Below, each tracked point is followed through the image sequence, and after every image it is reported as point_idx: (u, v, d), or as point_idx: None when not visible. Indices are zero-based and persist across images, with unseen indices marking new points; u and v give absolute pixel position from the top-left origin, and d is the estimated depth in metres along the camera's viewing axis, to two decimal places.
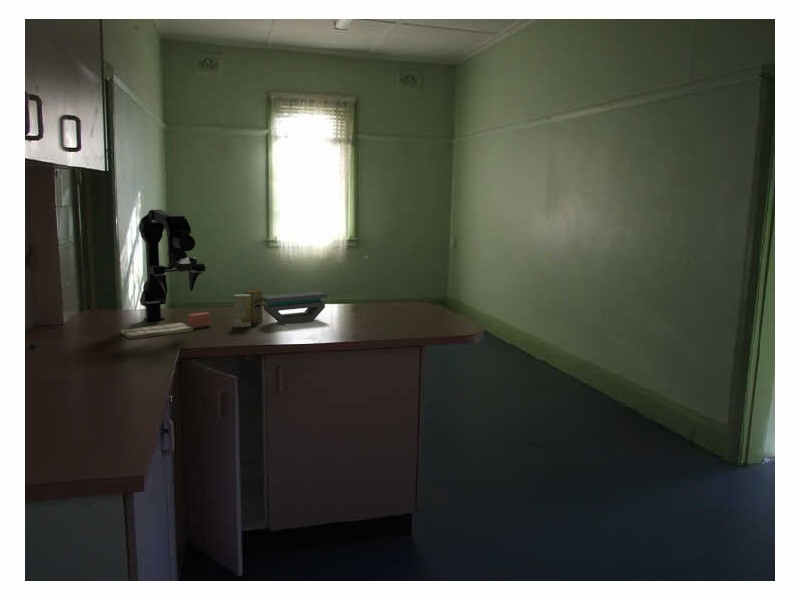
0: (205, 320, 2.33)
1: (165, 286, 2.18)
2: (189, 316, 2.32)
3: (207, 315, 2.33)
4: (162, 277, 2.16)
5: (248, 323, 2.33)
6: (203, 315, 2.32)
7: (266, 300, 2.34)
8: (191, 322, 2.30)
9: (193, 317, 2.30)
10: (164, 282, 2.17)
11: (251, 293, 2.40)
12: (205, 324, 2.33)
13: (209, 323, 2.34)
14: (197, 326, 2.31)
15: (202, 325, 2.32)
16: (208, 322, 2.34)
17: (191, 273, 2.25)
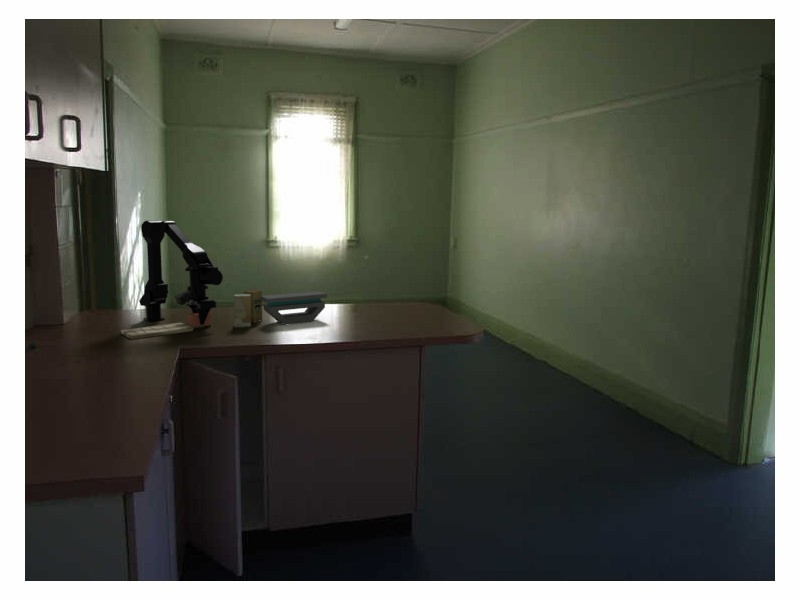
0: None
1: None
2: (189, 316, 2.32)
3: (207, 315, 2.33)
4: None
5: (248, 323, 2.33)
6: None
7: (266, 300, 2.34)
8: (191, 322, 2.30)
9: (193, 317, 2.30)
10: (193, 312, 2.34)
11: (251, 293, 2.40)
12: (205, 324, 2.33)
13: (209, 323, 2.34)
14: (197, 326, 2.31)
15: None
16: (208, 322, 2.34)
17: None
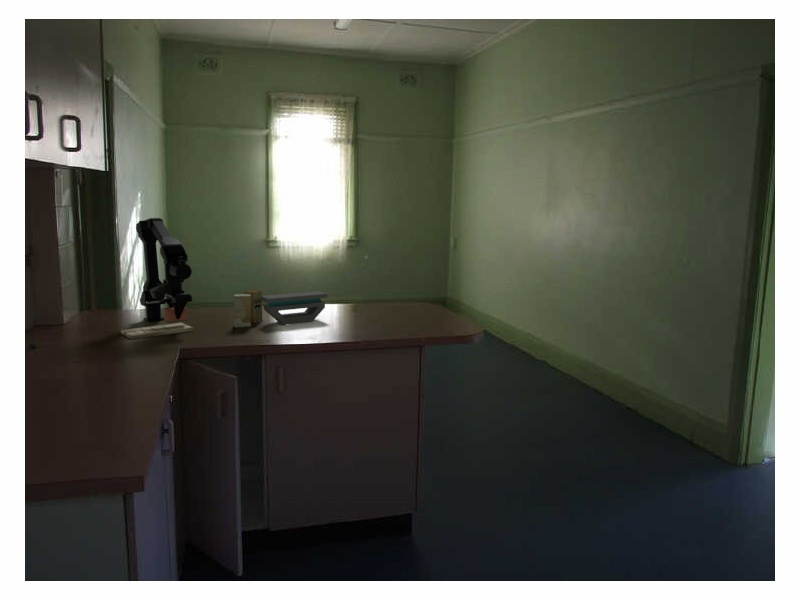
0: None
1: None
2: (165, 310, 2.25)
3: None
4: (164, 301, 2.28)
5: (248, 323, 2.33)
6: None
7: (266, 300, 2.34)
8: (167, 316, 2.24)
9: (169, 311, 2.23)
10: (169, 306, 2.28)
11: (251, 293, 2.40)
12: (181, 318, 2.27)
13: (185, 317, 2.28)
14: (173, 320, 2.25)
15: (178, 319, 2.26)
16: (185, 316, 2.28)
17: None
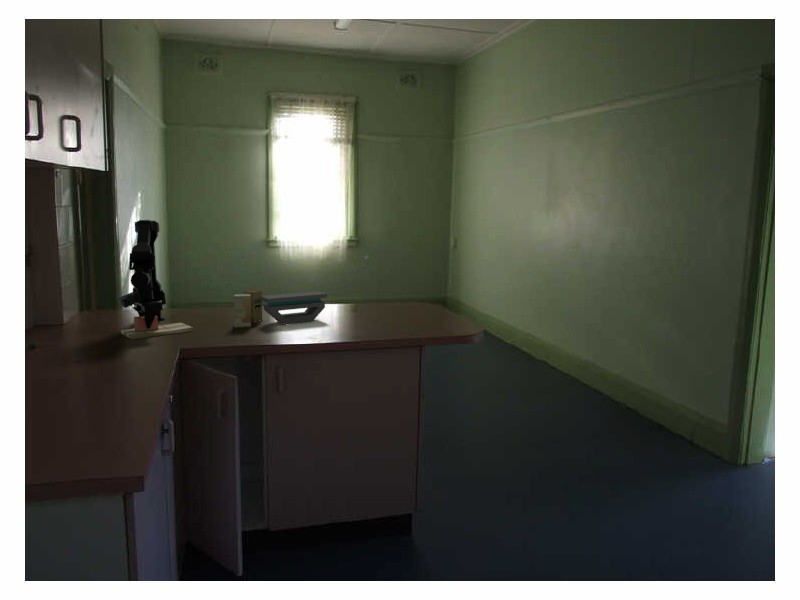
0: (152, 323, 2.20)
1: None
2: (135, 319, 2.18)
3: (154, 318, 2.20)
4: (134, 309, 2.21)
5: (248, 323, 2.33)
6: None
7: (266, 300, 2.34)
8: (137, 326, 2.17)
9: (138, 320, 2.17)
10: (139, 315, 2.21)
11: (251, 293, 2.40)
12: (152, 327, 2.20)
13: (156, 326, 2.21)
14: (143, 330, 2.18)
15: (149, 328, 2.19)
16: (156, 325, 2.21)
17: None
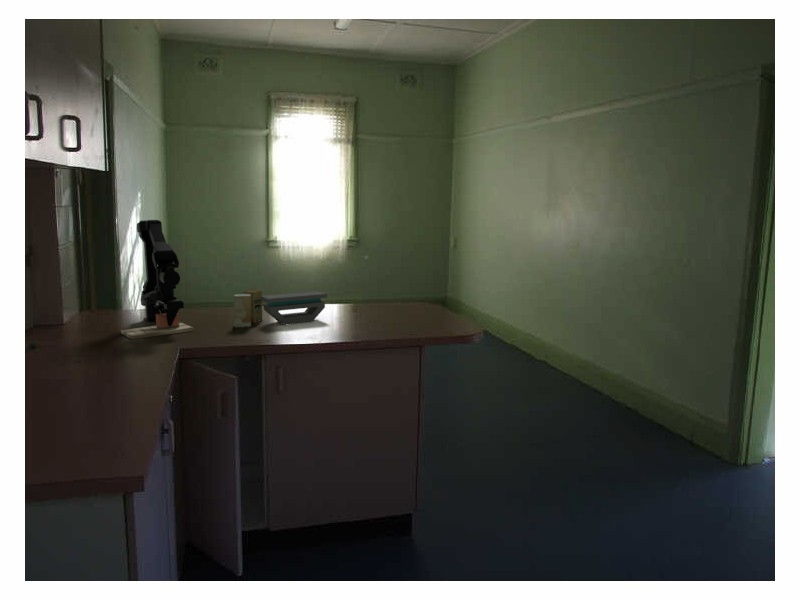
0: None
1: None
2: (156, 316, 2.24)
3: None
4: (156, 307, 2.26)
5: (248, 323, 2.33)
6: None
7: (266, 300, 2.34)
8: (159, 323, 2.22)
9: (160, 317, 2.22)
10: (161, 312, 2.26)
11: (251, 293, 2.40)
12: (173, 324, 2.25)
13: (177, 323, 2.26)
14: (165, 326, 2.23)
15: None
16: (177, 322, 2.26)
17: None
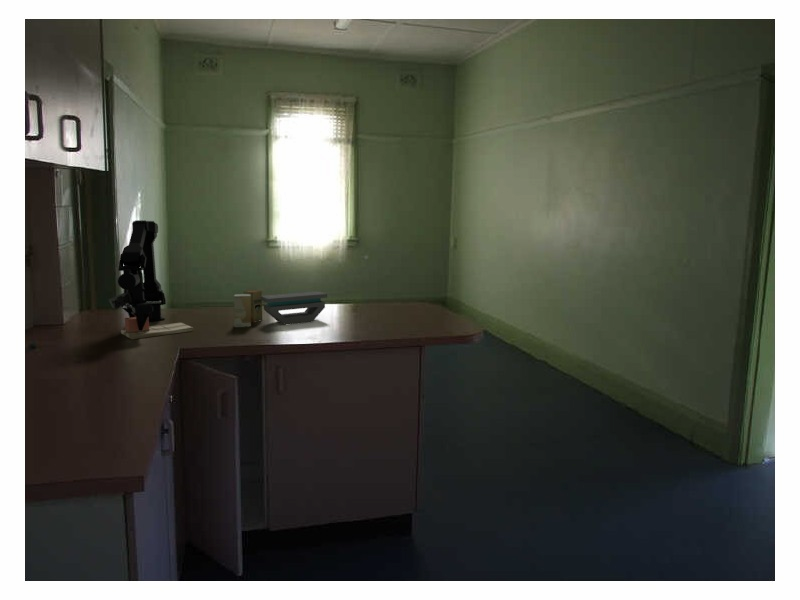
0: None
1: None
2: (125, 320, 2.17)
3: None
4: None
5: (248, 323, 2.33)
6: None
7: (266, 300, 2.34)
8: (127, 327, 2.15)
9: (129, 321, 2.15)
10: (129, 315, 2.20)
11: (251, 293, 2.40)
12: (143, 329, 2.18)
13: (147, 327, 2.19)
14: (134, 331, 2.16)
15: None
16: (147, 327, 2.19)
17: None
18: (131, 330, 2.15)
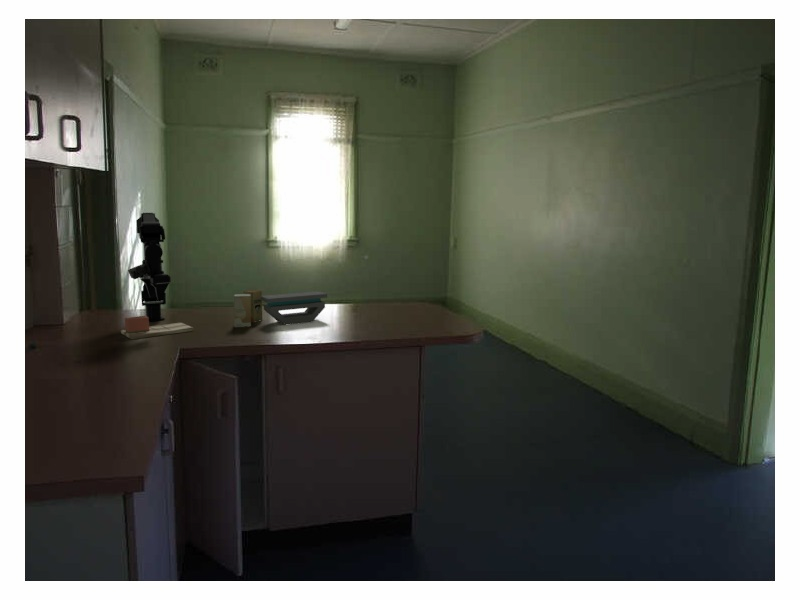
0: (143, 324, 2.18)
1: (147, 290, 2.28)
2: (125, 320, 2.17)
3: (145, 319, 2.18)
4: None
5: (248, 323, 2.33)
6: (141, 319, 2.17)
7: (266, 300, 2.34)
8: (127, 327, 2.15)
9: (129, 321, 2.15)
10: (146, 286, 2.28)
11: (251, 293, 2.40)
12: (143, 329, 2.18)
13: (147, 327, 2.19)
14: (134, 331, 2.16)
15: (140, 329, 2.17)
16: (147, 327, 2.19)
17: None
18: (131, 330, 2.15)
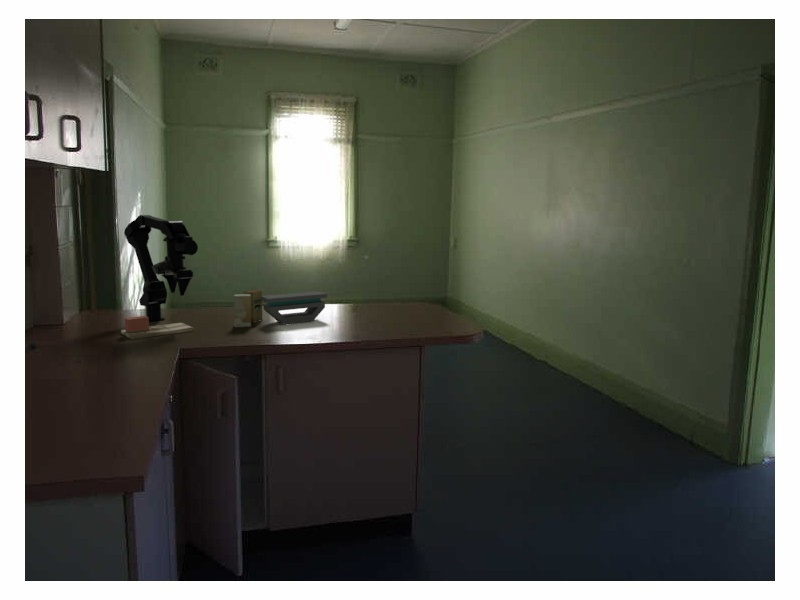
0: (143, 324, 2.18)
1: (169, 286, 2.37)
2: (125, 320, 2.17)
3: (145, 319, 2.18)
4: (164, 277, 2.37)
5: (248, 323, 2.33)
6: (141, 319, 2.17)
7: (266, 300, 2.34)
8: (127, 327, 2.15)
9: (129, 321, 2.15)
10: (168, 281, 2.37)
11: (251, 293, 2.40)
12: (143, 329, 2.18)
13: (147, 327, 2.19)
14: (134, 331, 2.16)
15: (140, 329, 2.17)
16: (147, 327, 2.19)
17: None
18: (131, 330, 2.15)
